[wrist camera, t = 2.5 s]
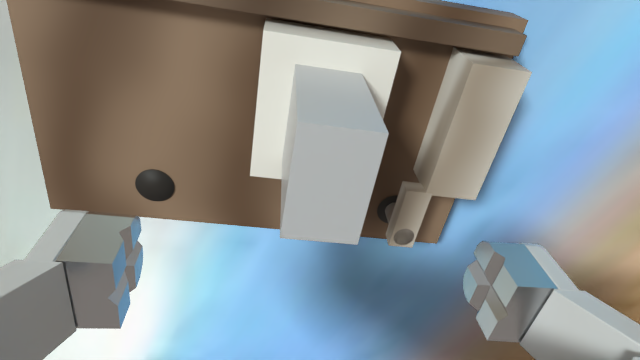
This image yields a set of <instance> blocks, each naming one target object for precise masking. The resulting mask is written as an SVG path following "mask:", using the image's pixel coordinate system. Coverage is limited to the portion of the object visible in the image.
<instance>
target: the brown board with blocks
mask: <svg viewBox="0 0 640 360" xmlns="http://www.w3.org/2000/svg"><path fill="white" fill-rule="evenodd" d="M7 5H8V10H9V14H10V19H11V24H12V29H13V33H14V38H15V43H16V47H17V52H18V57H19V62H20V66H21V71H22V76H23V80H24V85H25V90H26V94H27V99H28V104H29V109H30V113H31V118H32V123H33V127H34V132H35V137H36V142H37V146H38V151H39V156H40V160H41V165H42V170H43V175H44V179H45V184H46V189H47V193H48V198H49V203H50V207H51V209H62V210H65V209H69V210H81V211H89V212H90V211H95V212H105V213H116V214H126V215H137V216H139V217H150V218H161V219H172V220H183V221H194V222H205V223H216V224H227V225H238V226H249V227H260V228H271V229H280V216H281V182H282V179H274V178H264V177H255V176H250V168H251V157H252V147H253V136H254V125H255V114H256V103H257V93H258V82H259V71H260V60H261V49H262V39H263V29H264V25H265V20H266V18H269V19H275V20H281V21H287V22H294V23H300V24H306V25H312V26H319V27H325V28H331V29H337V30H343V31H350V32H356V33H362V34H368V35H374V36H381V37H387V38H391V40H392V41H393V42H394V43H395V45H396V46H397V47H398V48H399V50H400V51H401V55H400V59H399V62H398V66H397V70H396V74H395V77H394V81H393V85H392V89H391V92H390V96H389V100H388V103H387V107H386V111H385V115H384V118H383V121H384V124H385V126H386V128H387V130H388V133H389V135H388V138H387V142H386V145H385V149H384V152H383V156H382V159H381V163H380V167H379V170H378V174H377V177H376V181H375V184H374V188H373V192H372V195H371V199H370V202H369V206H368V209H367V213H366V216H365V220H364V224H363V227H362V231H361V234H360V237H371V238H382V239H387V241H388V245H390V246H401V247H413V244H414V242H426V243H437V241H438V239H439V236H440V234H441V232H442V229H443V227H444V224H445V222H446V219H447V217H448V214H449V212H450V210H451V207H452V205H453V202H454V200H455V198H460V199H469V200H476V198H477V195H478V193H479V191H480V189H481V186H482V184H483V182H484V180H485V177H486V175H487V173H488V171H489V168H490V166H491V164H492V161H493V159H494V157H495V155H496V152H497V150H498V148H499V146H500V143H501V141H502V139H503V137H504V134H505V132H506V130H507V128H508V125H509V123H510V121H511V119H512V116H513V114H514V112H515V110H516V107H517V105H518V103H519V101H520V98H521V96H522V94H523V91H524V89H525V87H526V85H527V82H528V80H529V78H530V76H531V73H532V72H531V71H529V70H528V69H526V68H525V67H523V66H521V65H520V64H518V63H517V62H515V61H514V60H512V59H513V56H519V53H520V51H521V49H522V46H523V44H524V41H525V39H526V37H527V36H526V35H525V34H523V32H524V29H525V27H526V24H527V22H528V20H526V19H524V18H522V17H520V16H517V15H515V14H513V13H509V12H504V11H498V10H492V9H487V8H481V7H476V6H470V5H464V4H459V3H453V2H447V1H442V0H7Z"/></svg>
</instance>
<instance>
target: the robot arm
mask: <svg viewBox="0 0 640 360" xmlns="http://www.w3.org/2000/svg"><path fill="white" fill-rule="evenodd" d="M140 232H141V224H140V218H139V217H138V216H137V215H126V214H116V213H105V212H95V211H90V212H89V211H81V210H69V209H65V210H62V211H60V212H59V213H58V214H57V216H56V217H55V218H54V220H53V221H52V222H51V224H50V225H49V227H48V228H47V229H46V231H45V232H44V233H43V235H42V236H41V237H40V239H39V240H38V241H37V243H36V244H35V245H34V247H33V248H32V249H31V251H30V252H29V253H28V255H27V256H26V257H25V259H24V260H14V261H12V262H10V263H8V264H6V265H4V266H2V267H0V360H43V359H44V358H45V357H46V356H47V355H48V354H50V353H51V352H52V351H53V350H54V349H55V348H57V347H58V346H59V345H60V344H61V343H62V342H64V341H65V340H66V339H67V338H68V337H69V336H71V335H72V334H73V333H74V332H75V331H76V328H121V326H122V323H123V321H124V318H125V315H126V313H127V310H128V308H129V305H130V296H129V292H131V291H132V290H133V289H135V288H136V287H137V284H138V281H139V278H140V274H141V269H142V262H143V248H142V245H141V244H140V243H139V242H138V241H137V240H138V237H139V235H140ZM474 255H475V258H476V261H474V262H473V263H472V264H470V265H469V266H467V269H466V271H465V274H464V276H463V290H464V294H465V297H466V299H467V301H468V303H469V304H470V305H471V306H473V307H474V308H475V309H476V310H478V312H477V316H476V319H477V321H478V323H479V325H480V327H481V329H482V331H483V333H484V335H485V337H486V339H487V341H503V342H519V343H520V345H521V346H522V347H523V348H524V349H525V350H526V351H527V352H528V353H529V354H530V355H531V356H532V357H533V358H535V359H536V360H640V325H639V324H638V323H636V322H635V321H633V320H631V319H630V318H628V317H626V316H625V315H623V314H622V313H620V312H618V311H617V310H615V309H613V308H612V307H610V306H609V305H607V304H605V303H604V302H602V301H600V300H599V299H597V298H596V297H594V296H592V295H591V294H589V293H587V292H586V291H579V289H578V288H577V287H576V286H575V285H574V283H573V282H572V281H571V280H570V278H569V277H568V276H567V275H566V274H565V272H564V271H563V270H562V269H561V267H560V266H559V265H558V264H557V263H556V261H555V260H554V259H553V258H552V256H551V255H550V254H549V253H548V252H547V250H546V249H545V248H544V247H543V246H541V245H539V244H528V243H519V244H516V243H502V242H487V241H482V242H481V243H480V244H478V245H477V247H476V249H475V251H474Z"/></svg>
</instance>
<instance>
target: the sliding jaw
mask: <svg viewBox="0 0 640 360" xmlns="http://www.w3.org/2000/svg"><path fill="white" fill-rule="evenodd" d="M400 55H401V51H400V50H399V48H398V47H397V46H396V45H395V43H394V42H393V41H392V40H391V38H387V37H381V36H374V35H368V34H362V33H356V32H350V31H343V30H337V29H331V28H325V27H319V26H312V25H306V24H300V23H294V22H287V21H281V20H275V19H269V18H266V20H265V25H264V29H263V39H262V49H261V60H260V71H259V82H258V93H257V103H256V114H255V125H254V136H253V147H252V157H251V168H250V176H255V177H264V178H274V179H282V182H281V216H280V238H286V239H297V240H309V241H320V242H332V243H343V244H354V245H358V241H359V238H360V234H361V231H362V227H363V224H364V220H365V216H366V213H367V209H368V206H369V202H370V199H371V195H372V192H373V188H374V184H375V181H376V177H377V174H378V170H379V167H380V163H381V159H382V156H383V152H384V149H385V145H386V142H387V138H388V135H389V133H388V130H387V128H386V126H385V124H384V121H383V118H384V115H385V111H386V107H387V103H388V100H389V96H390V92H391V89H392V85H393V81H394V77H395V74H396V70H397V66H398V62H399V59H400Z"/></svg>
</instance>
